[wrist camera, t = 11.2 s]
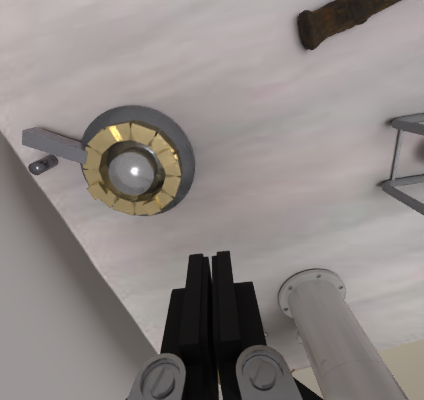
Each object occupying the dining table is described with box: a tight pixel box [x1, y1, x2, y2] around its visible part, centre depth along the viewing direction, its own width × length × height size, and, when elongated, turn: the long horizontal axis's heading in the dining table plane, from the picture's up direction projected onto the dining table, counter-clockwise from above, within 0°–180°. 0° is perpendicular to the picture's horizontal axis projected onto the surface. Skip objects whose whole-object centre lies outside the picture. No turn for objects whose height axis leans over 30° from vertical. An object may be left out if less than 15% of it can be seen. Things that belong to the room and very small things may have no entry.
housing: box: [28, 105, 195, 216], centre depth 34 cm, size 16×21×5 cm
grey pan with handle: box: [22, 120, 183, 216], centre depth 33 cm, size 20×12×4 cm, turn 70°
